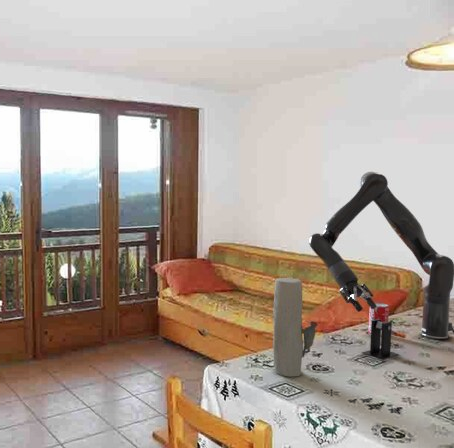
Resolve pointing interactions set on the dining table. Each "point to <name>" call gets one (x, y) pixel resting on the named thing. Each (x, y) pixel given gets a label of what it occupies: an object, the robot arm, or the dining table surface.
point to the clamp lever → (379, 326)
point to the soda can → (378, 314)
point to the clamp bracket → (385, 341)
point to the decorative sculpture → (289, 327)
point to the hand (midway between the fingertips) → (367, 309)
